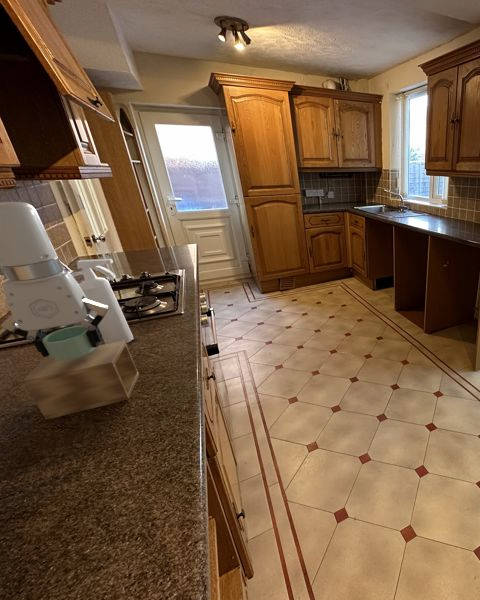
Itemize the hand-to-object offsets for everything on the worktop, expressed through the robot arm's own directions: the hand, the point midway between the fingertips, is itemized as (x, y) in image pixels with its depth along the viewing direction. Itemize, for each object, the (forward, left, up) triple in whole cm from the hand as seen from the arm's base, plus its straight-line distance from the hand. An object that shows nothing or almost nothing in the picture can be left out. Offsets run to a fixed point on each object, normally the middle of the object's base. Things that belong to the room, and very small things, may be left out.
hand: (73, 348), depth 68 cm
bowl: (0, 0, -1) cm, 1 cm away
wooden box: (0, 0, -13) cm, 13 cm away
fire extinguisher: (-3, +27, -13) cm, 30 cm away
